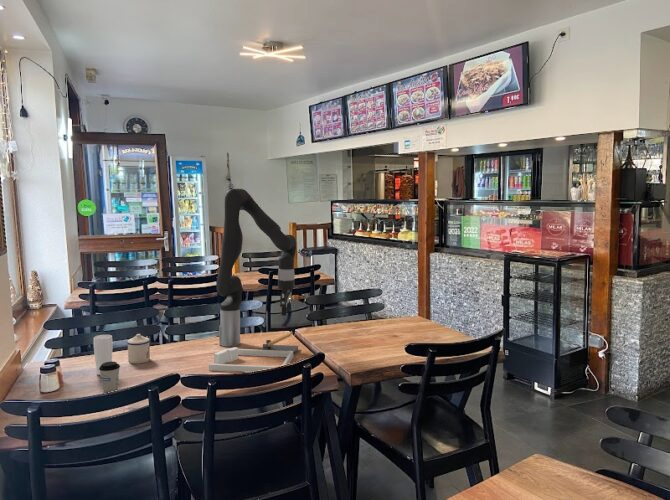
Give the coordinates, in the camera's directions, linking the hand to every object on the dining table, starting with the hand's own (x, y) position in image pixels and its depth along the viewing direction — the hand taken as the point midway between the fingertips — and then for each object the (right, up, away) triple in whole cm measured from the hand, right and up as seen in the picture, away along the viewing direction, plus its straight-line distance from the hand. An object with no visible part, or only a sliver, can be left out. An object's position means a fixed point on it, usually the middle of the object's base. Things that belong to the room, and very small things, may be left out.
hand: (286, 313), depth 222 cm
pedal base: (-3, -18, +2) cm, 18 cm away
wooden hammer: (-3, -13, +2) cm, 14 cm away
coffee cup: (-59, -22, -46) cm, 78 cm away
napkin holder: (-24, -20, -13) cm, 34 cm away
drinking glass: (-70, -20, -29) cm, 78 cm away
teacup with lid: (-63, -19, -12) cm, 67 cm away
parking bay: (-13, -19, -15) cm, 28 cm away
